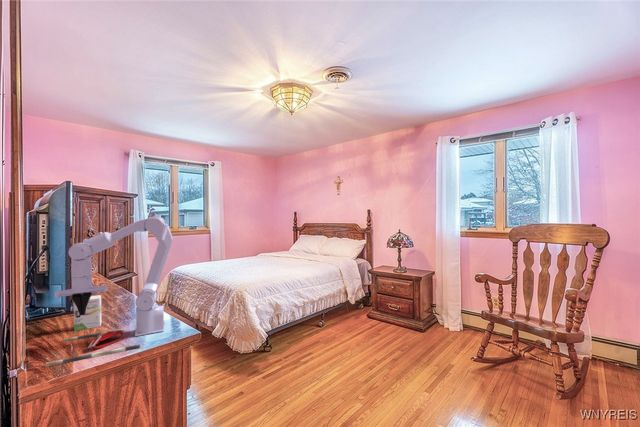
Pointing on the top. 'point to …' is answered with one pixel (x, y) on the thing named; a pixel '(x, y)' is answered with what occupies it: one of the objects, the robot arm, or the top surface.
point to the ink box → (89, 315)
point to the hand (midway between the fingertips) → (82, 314)
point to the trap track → (90, 354)
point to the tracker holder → (103, 337)
